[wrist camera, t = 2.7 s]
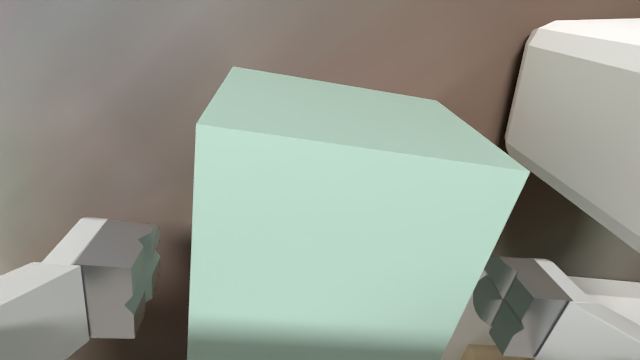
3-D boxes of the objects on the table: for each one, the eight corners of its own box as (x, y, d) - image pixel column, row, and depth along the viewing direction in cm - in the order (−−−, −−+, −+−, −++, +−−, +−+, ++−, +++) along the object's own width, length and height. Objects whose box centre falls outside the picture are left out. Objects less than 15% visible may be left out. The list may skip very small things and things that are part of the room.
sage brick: (233, 65, 10) (196, 123, 6) (434, 99, 11) (530, 171, 7) (219, 240, 13) (186, 370, 9) (384, 256, 14) (430, 381, 10)
